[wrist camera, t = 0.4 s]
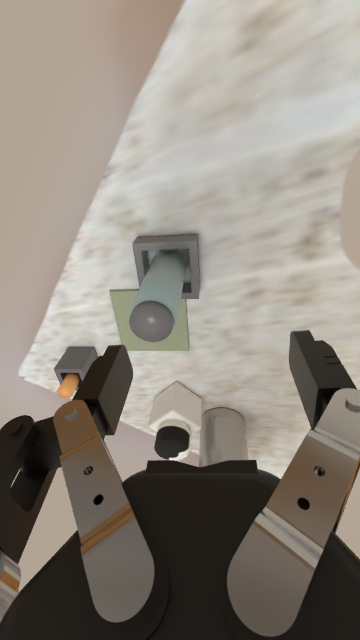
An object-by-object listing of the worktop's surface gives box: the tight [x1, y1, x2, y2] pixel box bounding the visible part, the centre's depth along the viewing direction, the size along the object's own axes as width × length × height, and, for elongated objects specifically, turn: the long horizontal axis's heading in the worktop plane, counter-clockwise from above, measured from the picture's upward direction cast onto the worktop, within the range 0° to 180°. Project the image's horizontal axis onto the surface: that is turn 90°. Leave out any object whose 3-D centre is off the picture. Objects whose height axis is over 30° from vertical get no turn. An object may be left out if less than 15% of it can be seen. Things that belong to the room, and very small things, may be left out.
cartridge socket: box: [132, 234, 199, 299], centre depth 40 cm, size 8×8×3 cm
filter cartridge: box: [129, 249, 187, 342], centre depth 35 cm, size 5×5×16 cm
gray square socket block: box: [54, 347, 98, 390], centre depth 51 cm, size 5×5×6 cm
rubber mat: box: [109, 289, 189, 351], centre depth 47 cm, size 12×12×1 cm
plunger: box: [57, 373, 81, 398], centre depth 48 cm, size 2×2×6 cm
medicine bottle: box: [149, 382, 202, 460], centre depth 52 cm, size 7×7×12 cm
